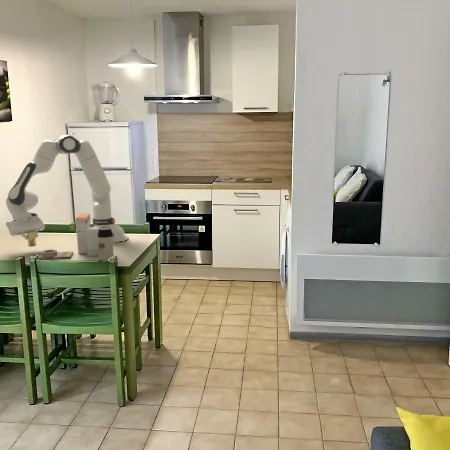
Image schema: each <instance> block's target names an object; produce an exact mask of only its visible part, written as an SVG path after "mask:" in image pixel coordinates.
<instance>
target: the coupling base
mask: <svg viewBox="0 0 450 450" xmlns="http://www.w3.org/2000/svg"><path fill="white" fill-rule="evenodd" d="M73 254H74V251H58V250H57V249H44V250H41V252H36V253H35V254H34V255H38V256H39V259H49V260H71V258H72V256H74V255H73Z"/></svg>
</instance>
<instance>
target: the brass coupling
mask: <svg viewBox="0 0 450 450" xmlns="http://www.w3.org/2000/svg"><path fill="white" fill-rule="evenodd" d="M27 235H28V237H29V239H27V246H28V247H36V246H37V238H36V236H35V231H29V232H27V233H26V236H27Z"/></svg>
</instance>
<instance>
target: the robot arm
mask: <svg viewBox="0 0 450 450" xmlns="http://www.w3.org/2000/svg"><path fill="white" fill-rule="evenodd" d="M59 154H61V155H62V154H64V155H68V154H69V155H70V154H74V155H75V157H77V160H78V163H79V165H80V167H81V169H82V171H83V174H84V175H85V177H86V180H87V182H88V185H89V187H90V189H91V203H92V204H91V205H92V217H93V218H92V227H101V226H111V227H112V229H111V231H112V233H113V243H120V242H119V241H124V242H126V241H125V240H127V239H128V240H129V236H128V235H125V231H124V229H123V228H122V227H121V226H119V225H118V224H116V220H115V217H112V204H111V195H110V193H111V184H110V182H109V180H108V177H107V176H106V174H105V171H104V170H103V168H102V165H101V162H100V160H99V157H98V156H97V154H96V152H95V150H94V148H93V146H92V144H91V143H90V141H88V140H83V139H82V140H78V139H77V138H76V137H75V136H73V135H70V134H63V135H60V136H58V137H57V138H56V139H54V140H50V139H45V140H43V141H42V142H41V144H40V145H39V146H38V149H37V150H36V152H35V155H34V157H33V158H32V160H31V161H30V162H29V163H27V164H26V165H25V167H24V169H23V170H22V171H21V173H20V175H19V177H18V179H17V180H16V182H15V184H14V185H13V186H12V187H11V188H10V190H9V192H8V193H7V197H6V200H5V201H6V202H5V205H6V207H7V210H8V212H9V214H10V215H11V217H12V219H13V220H8V221H6V223H5V225H6V227H7V229H8V233H9V235H10V236H12V237H13V236H14V237H15V236H21V237H23V238H24V239H25V240H27V241H28V239H29V237H28V235H27V232H29V231H35V236H36V239H37V238H39V234H38V232H40V231H44V229H45V228H46V224H45V223H44V220H42V219H41V218H40V217H39V214H38V213H35V212H29V211H30V210H31V209H33V208H34V207H36V206H37V204H38V201H39V197H38V194H37V193H35V192H33V191H30V190H26V188H27V187H28V185H29V183H30V182H31V180H32V178H33V177H34V176H36V175H39V174H40V175H41V174H45V173H48V172H50V171H51V169H52V167H53V165H54V163H55V161H56V158H57V157H58V155H59ZM128 240H127V241H128Z"/></svg>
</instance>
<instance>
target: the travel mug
mask: <svg viewBox="0 0 450 450" xmlns="http://www.w3.org/2000/svg"><path fill="white" fill-rule="evenodd" d="M111 229H112V227H111V226H101V227H98V230H99V232H98V249H99V256H98V260H100V261H101V260H108V259H109V258H110V257H112V256H114V253H115V252H114V242H113V233H112V231H111ZM114 257H115V256H114Z"/></svg>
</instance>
